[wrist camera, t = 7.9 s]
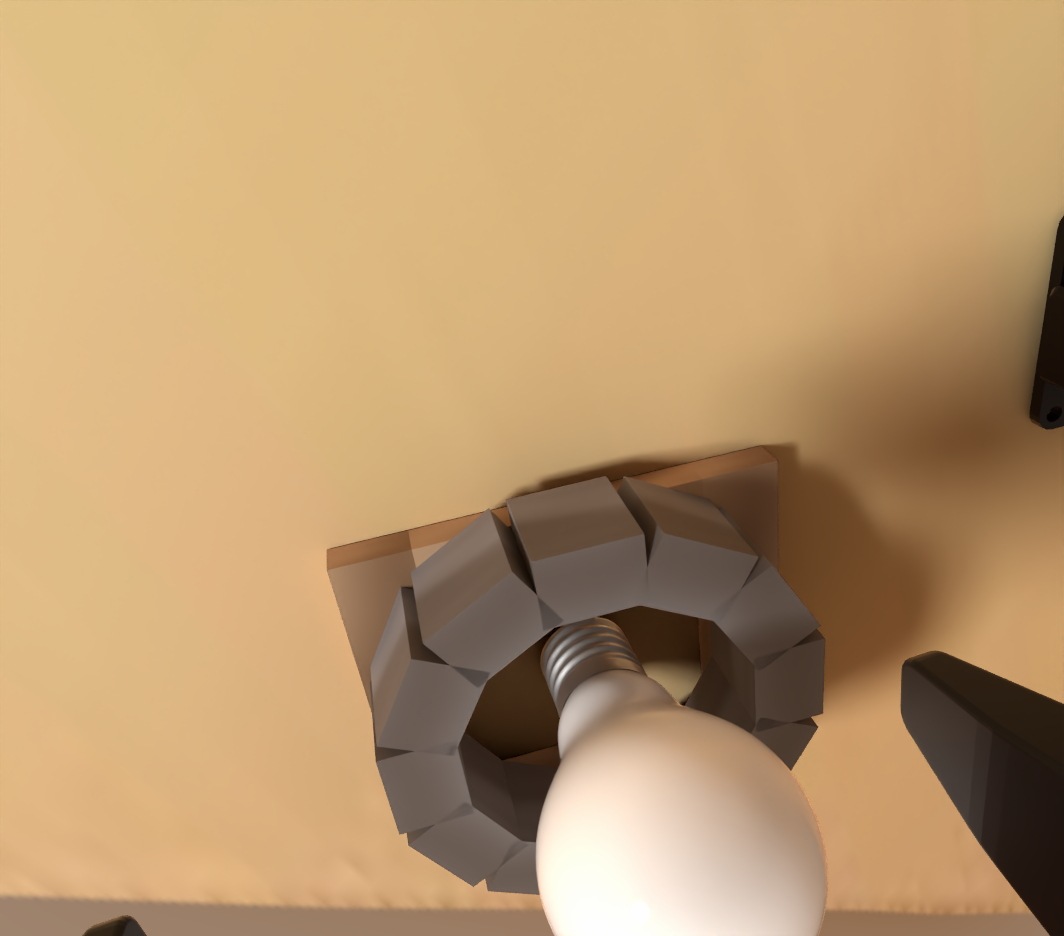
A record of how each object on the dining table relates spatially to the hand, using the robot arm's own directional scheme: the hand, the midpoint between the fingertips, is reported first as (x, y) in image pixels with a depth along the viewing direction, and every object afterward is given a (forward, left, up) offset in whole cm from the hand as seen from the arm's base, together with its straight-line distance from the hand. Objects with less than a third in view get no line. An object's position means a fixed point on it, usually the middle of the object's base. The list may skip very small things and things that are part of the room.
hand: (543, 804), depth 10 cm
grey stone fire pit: (-3, +9, -13) cm, 16 cm away
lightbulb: (-3, +9, -13) cm, 16 cm away
